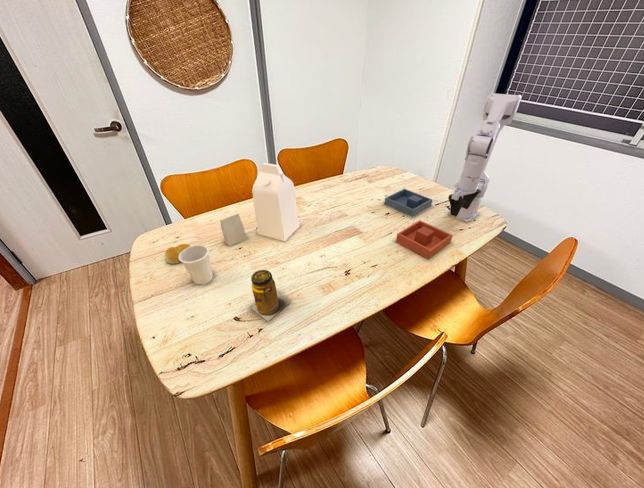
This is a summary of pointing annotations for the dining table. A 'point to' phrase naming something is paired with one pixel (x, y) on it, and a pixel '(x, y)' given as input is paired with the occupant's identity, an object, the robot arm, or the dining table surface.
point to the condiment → (266, 295)
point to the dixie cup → (197, 263)
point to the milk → (275, 203)
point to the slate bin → (400, 201)
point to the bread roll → (175, 253)
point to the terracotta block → (424, 236)
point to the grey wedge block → (233, 230)
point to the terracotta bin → (429, 250)
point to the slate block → (414, 201)
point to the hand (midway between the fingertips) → (459, 211)
